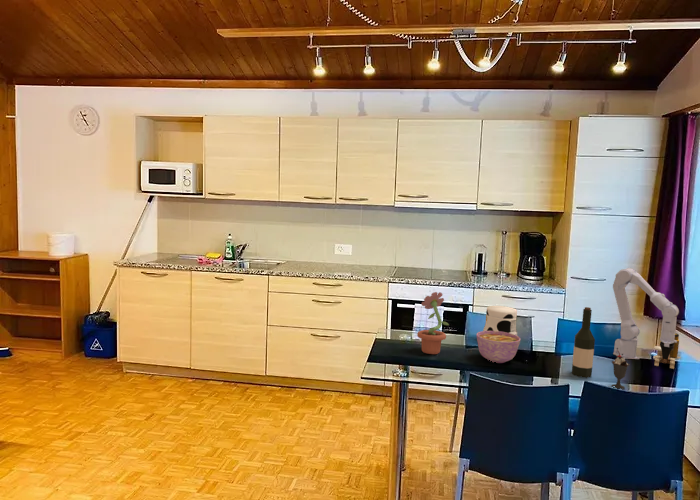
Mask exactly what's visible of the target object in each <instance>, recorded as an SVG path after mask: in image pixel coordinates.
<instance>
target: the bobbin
mask: <svg viewBox="0 0 700 500" xmlns="http://www.w3.org/2000/svg"><path fill="white" fill-rule="evenodd" d="M654 350H656V351H657V354H656V355H657V356H662V350H661V347H660V345H654ZM656 355H653V357H652V359H654V360H655V357H656Z"/></svg>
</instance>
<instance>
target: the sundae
mask: <svg viewBox="0 0 700 500" xmlns="http://www.w3.org/2000/svg"><path fill="white" fill-rule="evenodd" d="M617 351H618V350H617ZM618 352H619V351H618ZM611 363H612V366H613V376H614V377H615V378H616V379H617V380H616V381H617V382H616V383H614V384H611V387H612V386H615V387H616V388H615V389H617V388H621V389H620V390H624V389H625V388H626V387H625V386H624V385H622V384H621V380H622V379H624V378H625V377H626V373H627V370H628V367H629V366H630V363H628V362H627V360H626V359H624V358H623V357H621V355H620V353H619V356H616V358H615V359H614V360H612V361H611Z"/></svg>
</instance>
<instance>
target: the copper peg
mask: <svg viewBox="0 0 700 500" xmlns="http://www.w3.org/2000/svg"><path fill="white" fill-rule="evenodd" d="M669 356H670V354H669ZM661 362H662V363H663V364H667V363H669V358H668V360H666V359H663V358H662V361H661ZM661 362H660V363H661Z"/></svg>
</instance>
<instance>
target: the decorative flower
mask: <svg viewBox="0 0 700 500" xmlns="http://www.w3.org/2000/svg"><path fill="white" fill-rule="evenodd" d="M443 295H444V294H443V293H442V292H437V291H435V292H432V293H430V295H426V296H425V298H424V299H423V301H422V302H421V306H422V307H424V308H425V309H426V310H431V309H433V311H434V312H433V313H430V315H429V316H428V317H427V318H428V319H432V318H434V316H435V317H436V319H437V325H436V326H432V327H430V328H429V329H423V330H419V331H417V334H416V335H417V337H418V338H420V341H421V351H422V352H423V353H424V354H427V355H428V354H429V355H438V354H439V353H441V347H442V341H444V340H446V339H447V334H446V333H445V332H443V331H442V330H441V331H440V330H439V329H441V327H442V325H444V326H449V325H450V324H449V323H448V322H446V321H443V320H442V318H441V315H440V313H439V310H438V307H440V306H441V305H442V304H443V302H444V301H445V299H444V297H442V296H443ZM441 297H442V298H441Z"/></svg>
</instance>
